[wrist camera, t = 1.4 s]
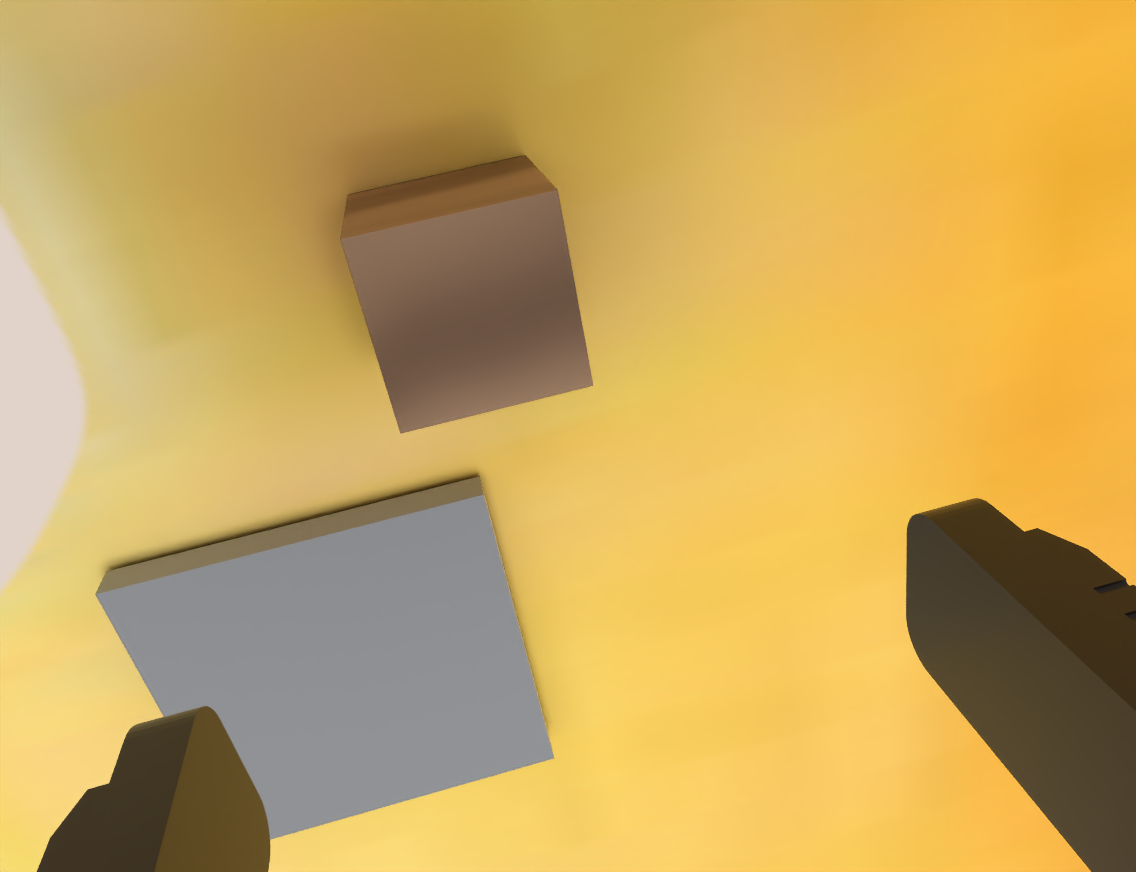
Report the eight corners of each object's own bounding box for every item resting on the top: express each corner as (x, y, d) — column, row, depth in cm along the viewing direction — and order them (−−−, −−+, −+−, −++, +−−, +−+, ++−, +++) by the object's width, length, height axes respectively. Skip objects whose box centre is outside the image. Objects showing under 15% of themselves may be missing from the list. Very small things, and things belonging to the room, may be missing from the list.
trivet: (106, 571, 27) (95, 594, 26) (479, 475, 28) (483, 494, 27) (242, 821, 33) (237, 848, 32) (548, 734, 34) (554, 758, 33)
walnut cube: (347, 194, 24) (340, 239, 19) (525, 155, 24) (557, 189, 20) (396, 360, 26) (400, 433, 22) (558, 321, 26) (593, 385, 22)
